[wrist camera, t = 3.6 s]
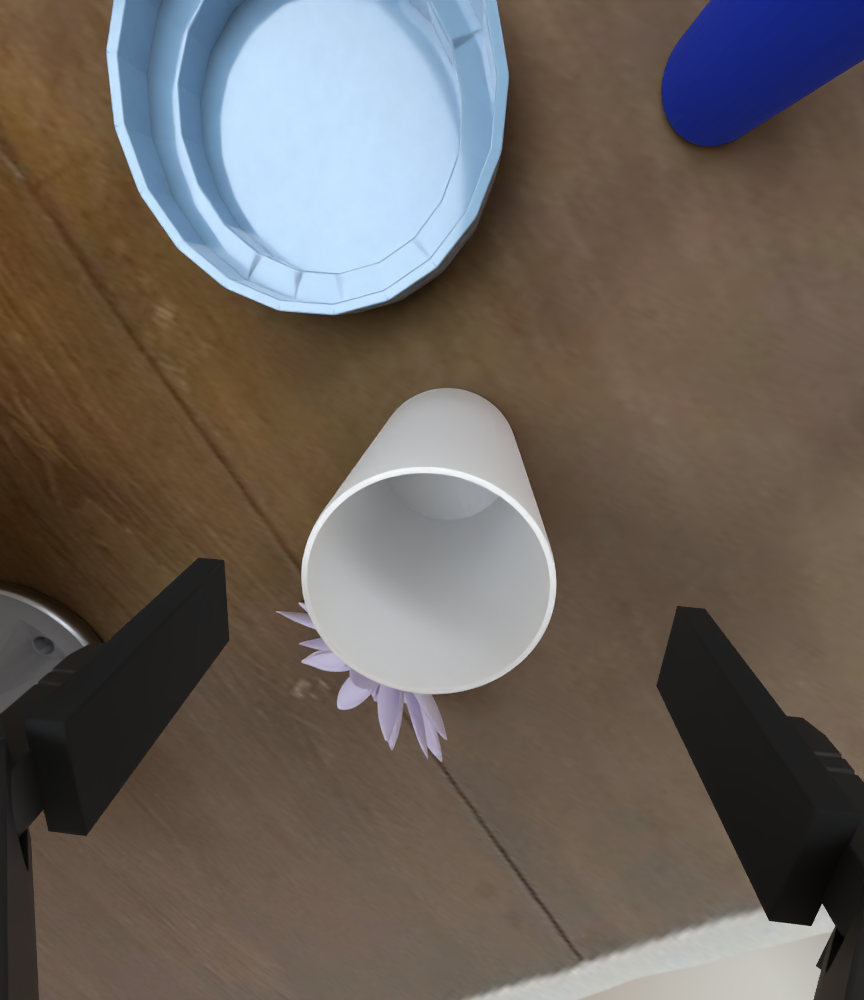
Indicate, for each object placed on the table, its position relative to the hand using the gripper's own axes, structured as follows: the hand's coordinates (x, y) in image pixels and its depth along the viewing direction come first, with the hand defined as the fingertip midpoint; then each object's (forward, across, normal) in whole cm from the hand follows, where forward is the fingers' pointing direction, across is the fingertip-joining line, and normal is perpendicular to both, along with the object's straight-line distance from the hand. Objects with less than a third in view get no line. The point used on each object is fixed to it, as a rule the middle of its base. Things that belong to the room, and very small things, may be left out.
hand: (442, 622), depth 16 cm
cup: (+18, -1, 0) cm, 18 cm away
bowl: (+18, -8, +16) cm, 25 cm away
